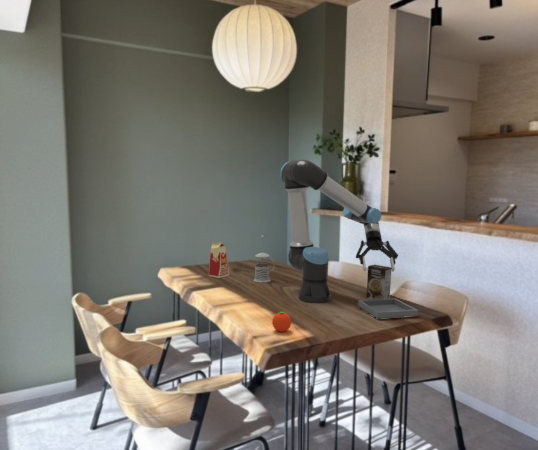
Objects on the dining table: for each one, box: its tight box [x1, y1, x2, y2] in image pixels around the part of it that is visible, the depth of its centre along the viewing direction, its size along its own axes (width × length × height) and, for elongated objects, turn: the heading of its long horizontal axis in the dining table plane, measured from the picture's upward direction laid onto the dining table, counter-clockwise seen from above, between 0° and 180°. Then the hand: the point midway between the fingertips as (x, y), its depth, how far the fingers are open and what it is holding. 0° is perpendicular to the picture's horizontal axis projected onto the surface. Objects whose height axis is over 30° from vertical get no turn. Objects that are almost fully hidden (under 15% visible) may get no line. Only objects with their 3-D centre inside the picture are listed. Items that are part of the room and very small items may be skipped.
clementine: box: [271, 311, 292, 333], centre depth 158 cm, size 8×7×7 cm
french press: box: [253, 235, 276, 283], centre depth 236 cm, size 10×12×25 cm
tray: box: [357, 297, 419, 320], centre depth 183 cm, size 18×18×3 cm
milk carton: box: [208, 241, 230, 279], centre depth 246 cm, size 9×9×20 cm
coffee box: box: [365, 264, 392, 300], centre depth 200 cm, size 9×6×16 cm
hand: (379, 269), depth 206 cm, fingers open, 13 cm apart
